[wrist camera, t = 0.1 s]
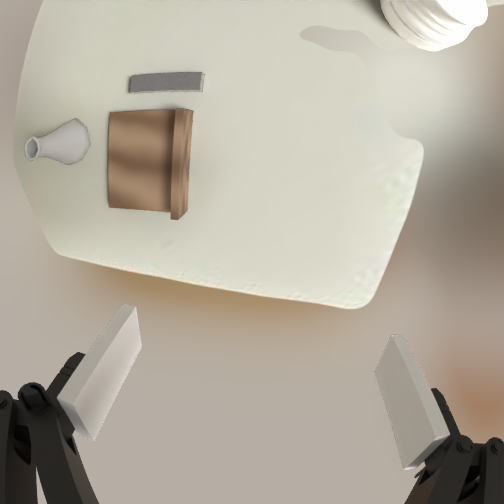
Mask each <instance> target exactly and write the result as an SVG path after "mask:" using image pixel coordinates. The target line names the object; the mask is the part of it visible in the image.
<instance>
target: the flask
mask: <svg viewBox="0 0 504 504" xmlns="http://www.w3.org/2000/svg"><path fill="white" fill-rule="evenodd" d="M89 146H90V141H89V137H88V131H87V127H85V126H84V125H83V124H82V123H81V122H80V121H79V120H78V119H77V118H75V119H73V120H71V121H69V122H67V123H66V124H64V125H62V126H60V127H59V128H57V129H56V130H55V131H53V132H52V133H50V134H48V135H46V136H43V137H39V138H36V137H35V136H33V137H31V138H29V139H28V140H27V142H26V144H25V146H24V150H25V155H26V157H27V158H28V159H29V160H30V161H32V160H34V159H36V158H38V157H48V158H51V159H54V160H57V161H59V162H62V163H64V164H67V165H71V164H73V163H75V162H78V161H80V160H82V158H83V157H84V155H85V153H86V151H87V150H88V148H89Z"/></svg>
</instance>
